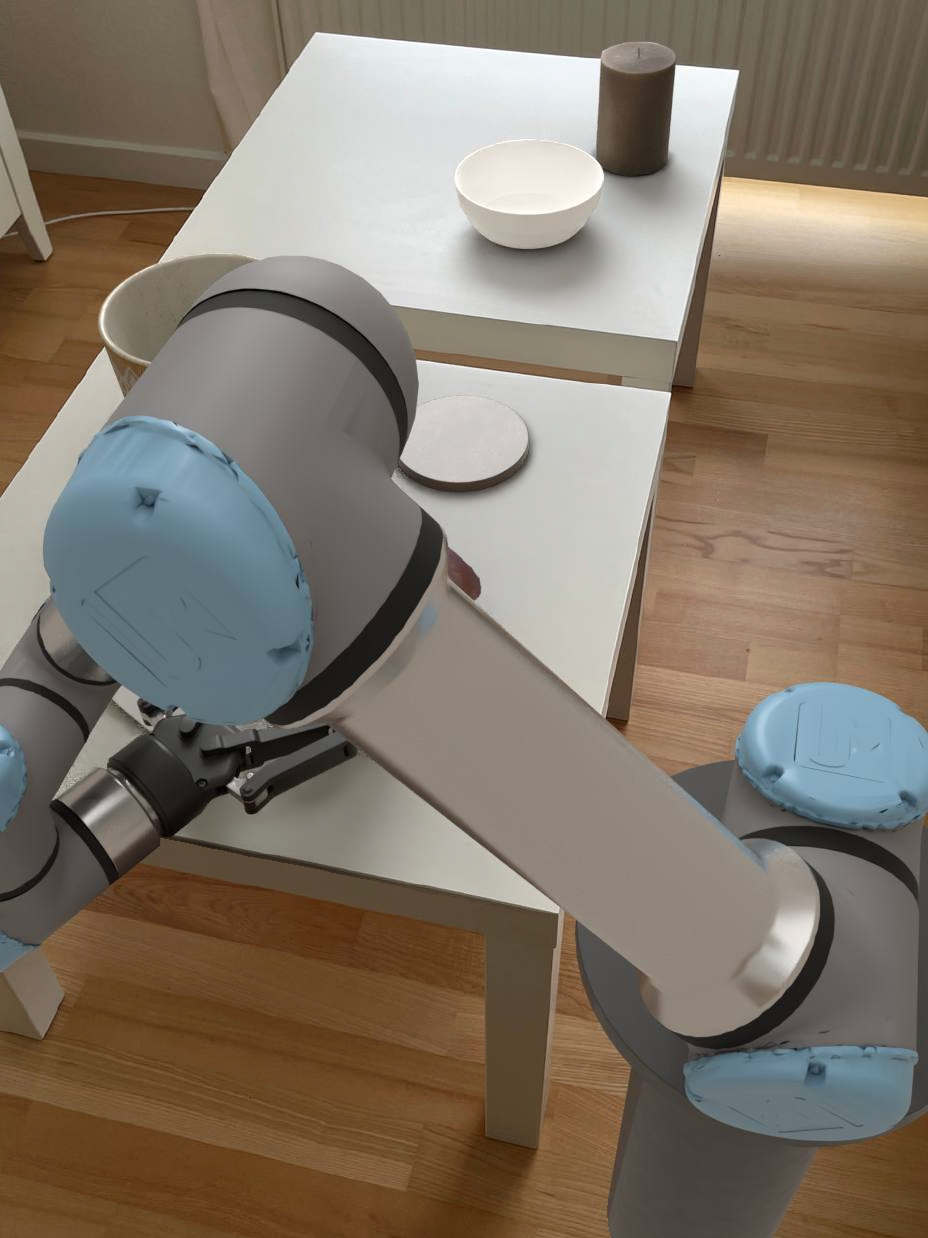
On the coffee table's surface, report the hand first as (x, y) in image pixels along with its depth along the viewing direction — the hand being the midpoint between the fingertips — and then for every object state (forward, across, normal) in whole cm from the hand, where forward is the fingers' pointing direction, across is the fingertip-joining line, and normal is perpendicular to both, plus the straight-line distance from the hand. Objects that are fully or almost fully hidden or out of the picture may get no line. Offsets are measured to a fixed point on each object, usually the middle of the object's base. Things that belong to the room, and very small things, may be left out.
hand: (351, 634), depth 103 cm
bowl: (+65, -38, -7) cm, 76 cm away
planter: (+14, -34, -7) cm, 37 cm away
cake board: (+29, -15, -6) cm, 33 cm away
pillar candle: (+88, -39, -7) cm, 96 cm away
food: (+2, -1, -7) cm, 7 cm away
